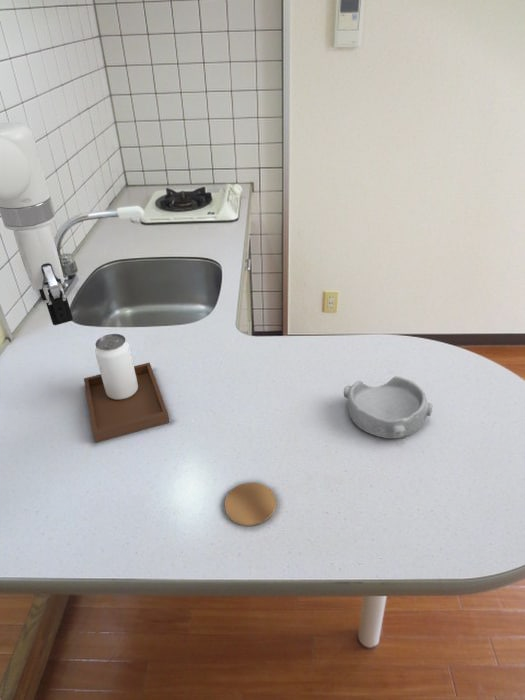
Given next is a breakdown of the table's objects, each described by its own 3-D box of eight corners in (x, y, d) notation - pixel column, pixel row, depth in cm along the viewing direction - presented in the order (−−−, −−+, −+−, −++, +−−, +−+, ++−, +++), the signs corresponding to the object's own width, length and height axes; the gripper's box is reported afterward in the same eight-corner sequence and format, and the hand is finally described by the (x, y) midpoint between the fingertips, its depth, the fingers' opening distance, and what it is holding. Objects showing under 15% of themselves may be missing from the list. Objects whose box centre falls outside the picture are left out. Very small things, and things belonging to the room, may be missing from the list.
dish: (333, 407, 101) (334, 386, 98) (391, 384, 105) (394, 364, 103) (380, 455, 90) (383, 434, 87) (442, 427, 95) (447, 406, 92)
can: (144, 383, 108) (133, 334, 102) (129, 403, 103) (117, 353, 96) (116, 379, 110) (103, 330, 103) (100, 398, 105) (86, 348, 98)
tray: (169, 422, 99) (167, 412, 97) (95, 442, 95) (93, 433, 94) (151, 371, 112) (149, 362, 111) (86, 387, 109) (83, 378, 107)
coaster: (257, 534, 78) (256, 532, 77) (214, 511, 82) (214, 509, 81) (285, 498, 83) (285, 496, 83) (244, 477, 87) (244, 475, 87)
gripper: (-5, 201, 85) (26, 295, 94) (8, 236, 72) (43, 340, 82) (43, 192, 87) (68, 284, 97) (64, 224, 75) (91, 326, 84)
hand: (57, 309), depth 89 cm, fingers open, 9 cm apart
